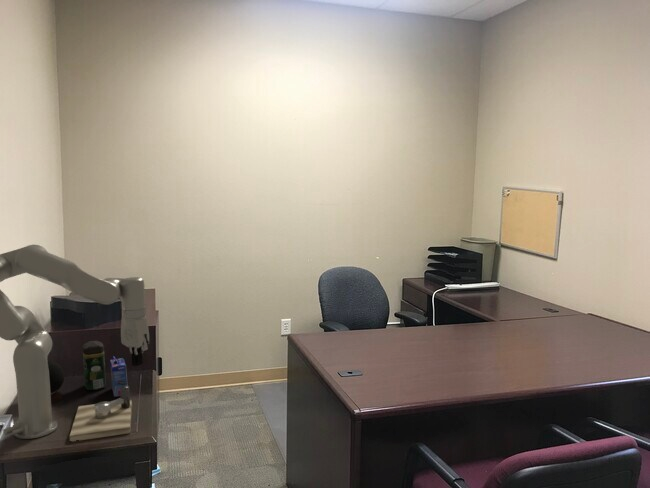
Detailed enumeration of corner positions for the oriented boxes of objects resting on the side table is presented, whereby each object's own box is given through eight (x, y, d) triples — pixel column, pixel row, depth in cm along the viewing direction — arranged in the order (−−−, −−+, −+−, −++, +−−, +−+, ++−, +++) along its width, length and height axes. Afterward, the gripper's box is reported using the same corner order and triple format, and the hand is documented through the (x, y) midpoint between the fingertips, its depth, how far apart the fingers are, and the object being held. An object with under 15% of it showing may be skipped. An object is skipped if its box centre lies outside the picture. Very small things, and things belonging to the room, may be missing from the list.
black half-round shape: (22, 399, 198) (20, 361, 197) (60, 390, 207) (58, 354, 206) (31, 409, 189) (28, 370, 187) (69, 400, 197) (67, 362, 196)
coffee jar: (83, 384, 213) (81, 340, 211) (104, 381, 217) (102, 338, 215) (85, 392, 205) (83, 347, 203) (107, 388, 208) (104, 344, 207)
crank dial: (100, 419, 175) (99, 399, 174) (92, 416, 178) (91, 396, 177) (133, 406, 186) (132, 387, 185) (124, 403, 188) (123, 384, 188)
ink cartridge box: (110, 388, 209) (109, 353, 207) (125, 386, 211) (124, 351, 210) (113, 397, 200) (111, 361, 198) (128, 394, 202) (126, 358, 201)
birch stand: (130, 433, 170) (130, 426, 170) (69, 441, 164) (69, 435, 164) (131, 404, 193) (131, 399, 192) (78, 411, 187) (78, 405, 187)
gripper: (111, 313, 179) (114, 364, 181) (139, 318, 171) (142, 371, 173) (129, 308, 186) (132, 358, 188) (157, 313, 178) (160, 365, 180)
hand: (137, 364), depth 180 cm, fingers closed
